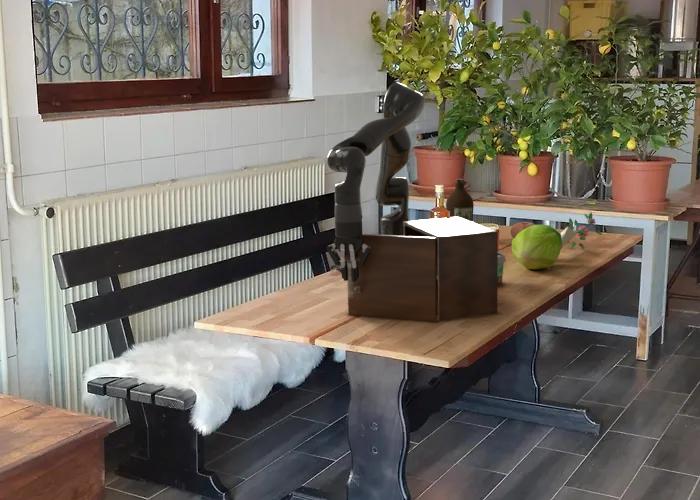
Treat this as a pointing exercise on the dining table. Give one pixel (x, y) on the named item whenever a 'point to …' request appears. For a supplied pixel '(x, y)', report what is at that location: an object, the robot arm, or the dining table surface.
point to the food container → (500, 268)
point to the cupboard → (462, 265)
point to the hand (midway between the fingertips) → (350, 280)
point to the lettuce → (537, 246)
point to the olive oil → (460, 202)
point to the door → (395, 279)
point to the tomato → (519, 228)
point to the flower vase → (582, 231)
